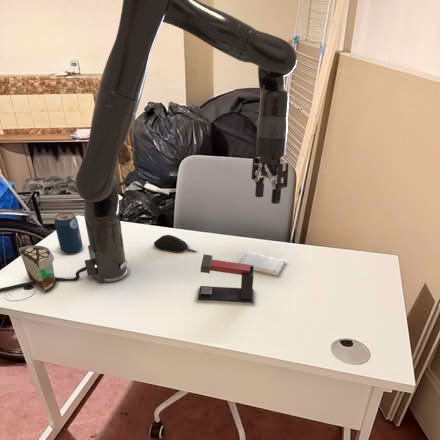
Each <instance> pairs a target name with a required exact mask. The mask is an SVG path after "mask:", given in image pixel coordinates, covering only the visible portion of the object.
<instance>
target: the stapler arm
mask: <svg viewBox="0 0 440 440" xmlns="http://www.w3.org/2000/svg"><path fill="white" fill-rule="evenodd" d="M211 272H216V273H217V272H218V273H223V274H224V273H225V274H231V275H238V276H242V274H250V265H248V264H241V263H240V262H233V261H225V260H219V259H213V255H211V254H203V256H202V260H201V264H200V273H203V274H210V273H211Z"/></svg>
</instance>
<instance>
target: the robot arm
mask: <svg viewBox="0 0 440 440" xmlns="http://www.w3.org/2000/svg"><path fill="white" fill-rule="evenodd" d="M162 23H164V24H169V25H171V26H173V27H176V28H179V29H181V30H182V31H184V32H187V33H189V34H191V35H192V36H194V37H195V38H197V39H199V40H201V41H202V42H204V43H206V44H207V45H209V46H211V47H212V48H214V49H216V50H218V51H219V52H222V53H223V54H225V55H227V56H229V57H231V58H234V59H235V60H237V61H239V62H243V63H250V64H252V65H253V64H254V65H255V66H257V78H258V87H259V94H260V95H259V96H260V99H259V112H258V121H257V127H256V128H257V129H256V142H255V143H256V145H255V154H256V156H254V157H253V158H252V165H251V180H253V181H254V184H255V190H254V191H255V193H254V196H255V198H263V197H264V194H265V193H264V192H265V181H266V179H267V178H268V182H270V183H271V187H272V188H271V202H270V203H271V204H273V205H276V204H277V205H279V204H280V203H281V196H282V189H284V188H288V181H289V180H288V179H289V162H282V157H284V156H286V149H287V137H288V127H289V126H288V125H289V124H288V115H289V102H290V97H289V92H288V91H287V90H286V89H285V77H286V76H288V75H290V74H291V73H292V72H294V69H295V68H296V66H297V62H298V54H297V52H296V51H297V50H296V49H295V47H294V46H293V45H292V44H291V43H290V42H289V41H286V40H285V39H283V38H281V37H278V36H275V35H273V34H271V33H268V32H264V31H260V30H258V29H256V28H255V27H253V26H251V25H250V24H248V23H247V22H244V21H242V20H240V19H238V18H237V17H234V16H233V15H231V14H228V13H227V12H224V11H222V10H220V9H218V8H215V7H213V6H210V5H208V4H206V3H203V2H201V1H199V0H122V7H121V13H120V18H119V25H118V29H117V33H116V36H115V40H114V42H113V45H112V47H111V50H110V51H109V55H108V57H107V60H106V62H105V64H104V68H103V71H102V74H101V77H100V80H99V85H98V90H97V93H96V97H95V101H94V107H93V112H92V118H91V122H90V124H91V125H90V129H89V131H90V132H89V136H88V142H87V146H86V149H85V152H84V154H83V158H82V159H81V163H80V164H79V165H80V166H79V168H78V170H77V172H76V175H75V179H74V185H75V189H76V191H77V193H78V195H79V196H80V198H82V199H83V202H84V208H83V209H84V210H83V218H84V222H85V226H86V232H87V233H86V234H87V238H88V244H89V245H87V250H88V255H89V259H84V265H85V266H84V267H82V268H80V269H78V270H76V271H75V276H74V277H73V278H65V277H57V276H55V282H56V281H57V282H76V281H78V280H80V278H81V277H80V276H81V275H80V274H81V273H83V272H85V271H86V275H87V277H91V276H92V277H93V276H94V277H95V278H96V279H97V280H98V282H99V283H112V282H117V281H120V280H123V279H124V278H126V276H128V267H127V265H128V260H127V259H126V254H125V246H124V238H123V231H122V223H121V215H120V199H119V198H120V197H119V190H118V188H119V187H118V181H117V175H116V167H117V162H118V158H119V155H120V152H121V150H122V148H123V145H124V144H125V141H126V140H127V137H128V135H129V132H130V130H131V128H132V126H133V123H134V120H135V118H136V114H137V112H138V108H139V105H140V101H141V98H142V95H143V92H144V91H143V90H144V86H145V82H146V77H147V73H148V72H147V71H148V67H149V60H150V56H151V53H152V49H153V46H154V43H155V40H156V39H157V35H158V33H159V30H160V28H161V26H162ZM35 284H36V282H35V281H26V282H22V283H18V284H12V285H9V286H5V287H1V288H0V293H1V292H7V291H10V290H11V291H12V290H16V289H19V288H20V289H21V288H25V287H28V286H32V285H33V286H34V285H35Z"/></svg>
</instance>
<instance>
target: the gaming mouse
mask: <svg viewBox="0 0 440 440" xmlns="http://www.w3.org/2000/svg"><path fill="white" fill-rule="evenodd" d="M153 245H154V247H155V248H157V249H158V250H162V251H167V252H174V253H183V252H185V251H189V252H193V253H196V250H193V249H192V248H189V246H188V243H187V242H186V241H184V240H183V239H181V238H179V237H177V236H175V235H171V234H165V235H161V236H160V237H159V238H157V239H156V240H155V241H154V242H153Z"/></svg>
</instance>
